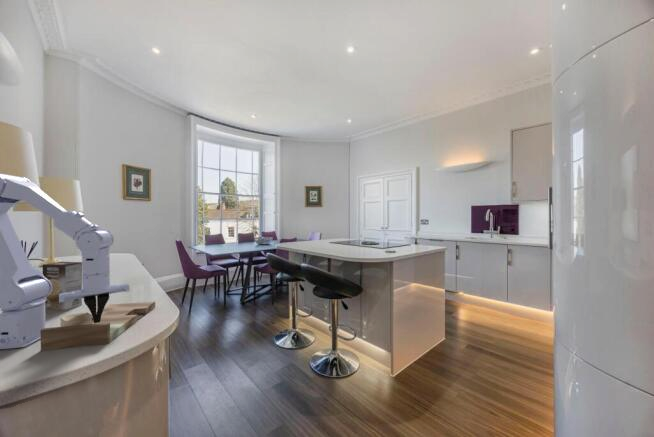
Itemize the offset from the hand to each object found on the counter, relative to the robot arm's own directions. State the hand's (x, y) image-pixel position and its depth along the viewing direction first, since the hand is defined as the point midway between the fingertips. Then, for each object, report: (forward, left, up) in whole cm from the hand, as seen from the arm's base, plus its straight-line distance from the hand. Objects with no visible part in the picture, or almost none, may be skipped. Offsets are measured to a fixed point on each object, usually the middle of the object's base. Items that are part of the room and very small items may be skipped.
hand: (96, 321), depth 72 cm
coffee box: (+28, +26, -3) cm, 38 cm away
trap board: (+6, 0, -3) cm, 6 cm away
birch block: (-3, +3, -1) cm, 4 cm away
